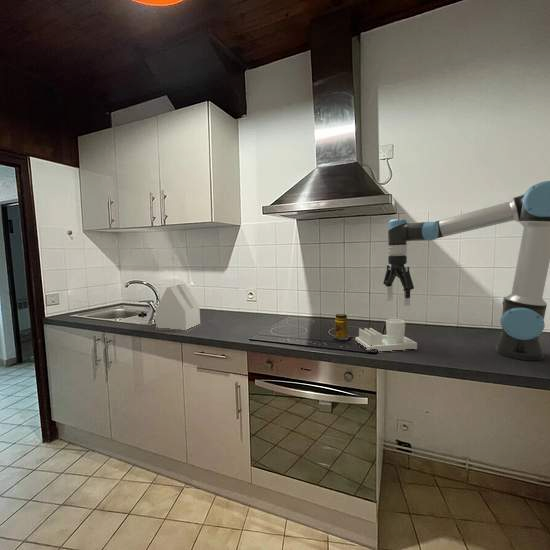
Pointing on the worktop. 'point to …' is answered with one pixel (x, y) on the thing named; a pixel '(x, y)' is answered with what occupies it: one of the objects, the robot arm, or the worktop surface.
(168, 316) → the white house-shaped block
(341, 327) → the condiment
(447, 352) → the worktop surface
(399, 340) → the white cup
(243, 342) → the worktop surface
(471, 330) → the worktop surface
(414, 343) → the dish rack
